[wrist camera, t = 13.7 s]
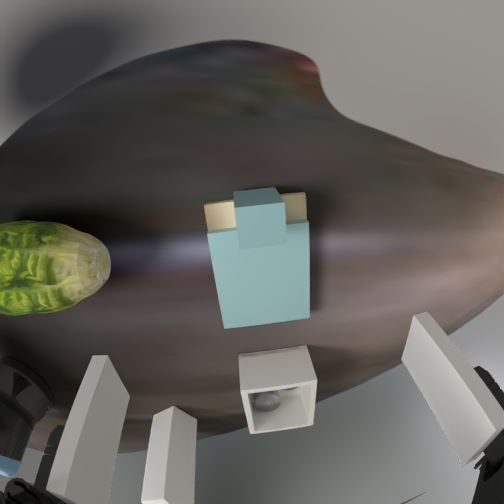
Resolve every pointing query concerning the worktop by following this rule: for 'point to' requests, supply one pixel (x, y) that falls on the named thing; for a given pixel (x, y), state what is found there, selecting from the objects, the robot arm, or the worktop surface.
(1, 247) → the lettuce
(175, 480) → the milk
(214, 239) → the lid
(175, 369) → the worktop surface
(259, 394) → the part
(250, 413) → the tub
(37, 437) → the worktop surface
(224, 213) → the board
